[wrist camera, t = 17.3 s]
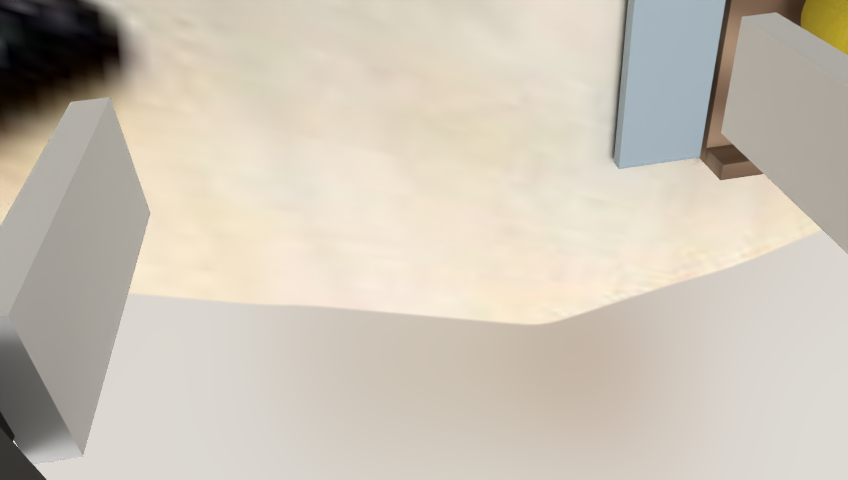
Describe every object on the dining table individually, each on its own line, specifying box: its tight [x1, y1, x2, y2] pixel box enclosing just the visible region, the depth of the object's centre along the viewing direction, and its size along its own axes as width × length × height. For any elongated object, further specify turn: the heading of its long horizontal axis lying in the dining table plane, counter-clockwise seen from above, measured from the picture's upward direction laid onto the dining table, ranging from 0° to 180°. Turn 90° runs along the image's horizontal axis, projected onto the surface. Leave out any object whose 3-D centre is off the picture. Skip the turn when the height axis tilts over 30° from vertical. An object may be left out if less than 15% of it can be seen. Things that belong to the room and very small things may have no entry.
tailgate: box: [614, 0, 726, 169], centre depth 47 cm, size 21×1×6 cm
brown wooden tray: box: [699, 0, 806, 180], centre depth 47 cm, size 22×12×4 cm, turn 4°
